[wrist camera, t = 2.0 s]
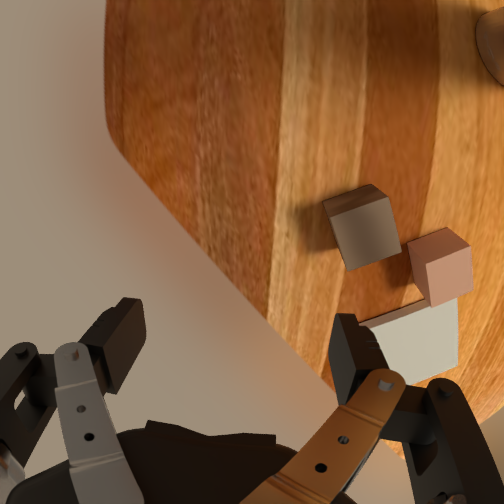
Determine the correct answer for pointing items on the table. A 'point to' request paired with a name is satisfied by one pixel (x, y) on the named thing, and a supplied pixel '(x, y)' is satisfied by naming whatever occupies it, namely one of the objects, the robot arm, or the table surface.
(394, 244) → the walnut brick
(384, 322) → the base plate
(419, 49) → the table surface
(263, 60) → the table surface
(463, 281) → the pink cube
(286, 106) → the table surface
